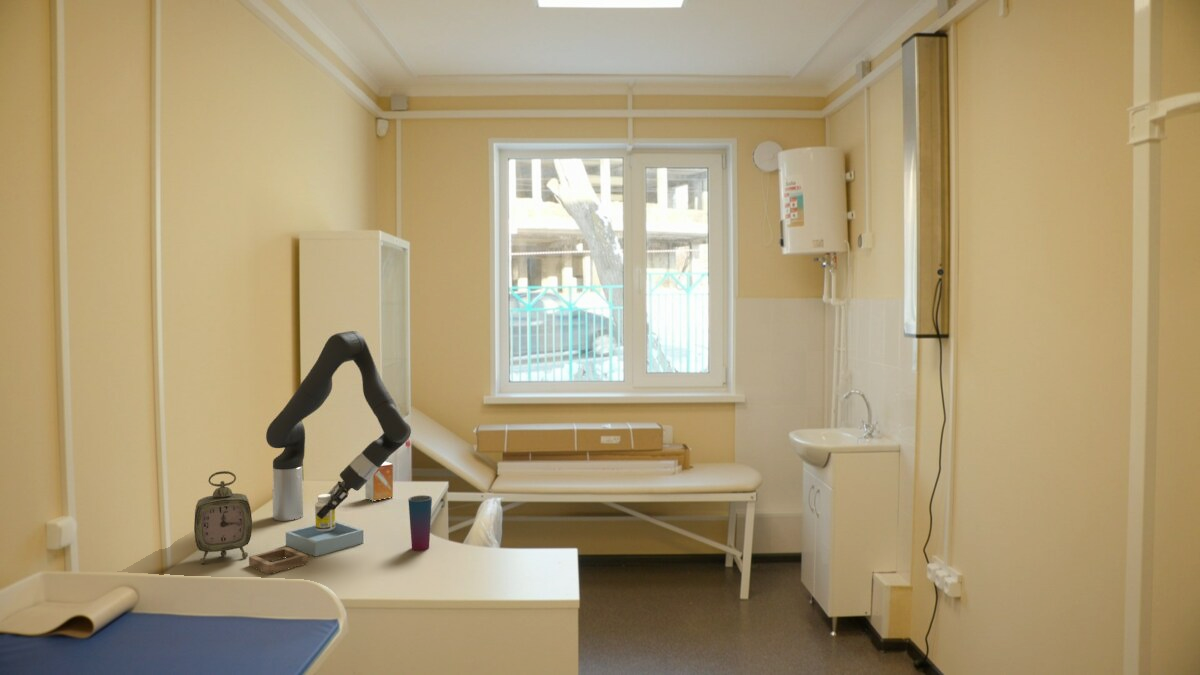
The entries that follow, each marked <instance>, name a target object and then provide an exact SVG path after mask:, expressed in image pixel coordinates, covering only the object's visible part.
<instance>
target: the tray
mask: <svg viewBox="0 0 1200 675" xmlns="http://www.w3.org/2000/svg"><path fill="white" fill-rule="evenodd" d="M361 543H362V544H364V529H361V528H358V527H355V526H353V525H352V526H351V525H349V524H345V523H343V522H340V521H336V520H335V528H334V529H332V530H329V531H318V530H317V529H316V524H314V525H310V526H309V525H308V526H305V527H301V528H297V529H293V530H290V531H285V546H286V545H287V546H286V547H289V546H290V547H289V548H291V547H293V548H292V549H294V548H295V549H294V550H296V549H298V550H297V551H299V550H300V551H299V552H301V551H303V552H302V553H304V552H306V553H305V554H307V553H308V554H307V555H309V554H310V556H312V555H313V556H312V557H314V556H316V557H320V556H323V555H326V554H330V553H333V552H337V551H340V550H344V549H348V548H351V547H355V546H358V544H359V545H361ZM319 555H320V556H319Z"/></svg>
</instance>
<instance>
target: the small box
mask: <svg viewBox="0 0 1200 675" xmlns="http://www.w3.org/2000/svg"><path fill="white" fill-rule="evenodd" d="M364 486H365V487H364V488H365V493H364V496H365V497H366V498H368V499H370V500H373V501H374V500H379V499H384V498H389V497H393V498H394V495H393V494H394V465H393V463H391V462H388V461H385V462H384V463H383V464H382V465H381V466H380V467H379V468H378V469H377V471H376V472H375V473H374V475H373V476H372V477H371V478H370V479H369V480H368V481H367V482H366V483H365V484H364ZM365 497H364V498H365ZM370 500H369V501H370ZM373 501H372V502H373Z"/></svg>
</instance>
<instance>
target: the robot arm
mask: <svg viewBox="0 0 1200 675" xmlns="http://www.w3.org/2000/svg"><path fill="white" fill-rule="evenodd" d="M351 361H353V362H354V363H355V365H356V366H357V368H358V369H359V372H360V376H361V381H362V392H363V396H364V399H365V400H366V403H367V404H368V406H369V408H370V409H371V411H372V413H373V415H374V416H376V419H377V421H378V424H379V425H380V427H381V429H382V431H383V433H382V434H381V435H380V436H379V437H378V438H377V439H375V440H373V441H371V442H370V443H369V445H367V446H366V448H364V449H363V450H362V451H361V453H360V454H359V455H357V456H356V457H355V458H354V459H353V460H352V461H351V462H350V463H349V464H348V465H347V466H346V467H345V468H344V469H343V470H342V471H341V472H340V474H339V477H340V478H341V480H342V481H341V480H339V481H337V483H336V484H335V485H334V486H333V487H332V488H331V489H330V490H329V492H328V493H327V494H331V496H330V497H329V498H330V499H329V501H328V502H327V503H326V504H325V505H324V506H323V508H322V509H321V510H320V511H319V512H318V513H317V516H318V517H319V518H320V519H323V518H324V517H325V516H326V515H327V514H328V512H329V511H330V510H332V509H333V510H334V509H335V510H336V508H337V507H339V505H340V504H342V503H343V501H345V500H346V498H348V495H349V491H350V490H351V489H352V490H354V491H357V492H358V491H360V490H361V488H362V487H363V486H365V483H366V482H367V481H368V480H369V479H370V478H371V477H372V476H373V475H374V473H375V472H376V471H377V469H378V468H379V467H380V466H381V465H382V464H383V463H384V462H387V460H388V459H389V457H390V456H391V455H393V454H394V453H395V452H396V451H397V450H399V449H401V447H402V446H403V445H404V444H405V443H406V442H407V441H408V440H409V438H410V437H411V433H412V429H411V426H410V425H409V423H408V422H406V421H405V420H404V418H403V417H402V415H401V413H400V412H399V410H398V408H397V405H396V402H395V401H394V399H393V398H392V395H391V393H390V392H389V391H388V389H387V388H386V386H385V383H384V382H383V380H382V378H381V376H380V374H379V371H378V368H377V366H376V364H375V361H374V358H373V355H372V353H371V351H370V348H369V346H368V343H367V341H366V339H365V338H364V336H363V335H362V334H361V333H360V332H358V331H354V330H351V331H350V330H349V331H344V332H338V333H335V334H333V335H331V336H329V338H328V340H326V342H325V344H324V346H323V348H322V350H321V352H320V354H319V357H318V358H317V359H316V362H315V363H314V364H313V366H312V367H311V369H310V370H309V372H308V373H307V375H306V376H305V378H304V379H303V380H302V382H301V383H300V384H299V386H298V388H297V389H296V391H295V393H294V394H293V395H292V397H291V398H290V399H289V401H288V402H287V404H286V405H285V406H284V408H283V409H282V410H281V411H280V413H279V414H278V415H277V416H276V417H275V418H274V419H273V420H272V421H271V422H270V424H269V426H268V427H267V430H266V434H265V439H266V442H267V444H268V445H269V447H271V448H273V449H283V451H282V452H281V453H280V454H279V455H277V456H276V457H275V458H274V459H273V461H272V483H273V484H272V488H273V489H272V516H273V519H274V520H275V521H282V522H283V521H284V522H285V521H294V519H295V520H298V519H301V518H302V517H303V516H304V489H303V484H304V483H303V482H304V481H303V476H304V475H303V462H304V459H305V448H306V446H305V445H306V431H305V429H306V428H305V426H304V423H303V422H302V421H303V420H305V419H306V418H307V417H308V416H309V417H310V415H311V414H313V413H315V412H316V411H317V410H319V408H320V407H322V406H323V404H324V403H325V402H326V400H327V399H328V397H329V396H330V394H331V393H332V389H333V376H334V374H335V373H336V372H337V370H338V369H339V368H340V366H341V365H343V364H344V363H346V362H351ZM333 501H334V502H335V504H332V502H333ZM300 517H301V518H300Z"/></svg>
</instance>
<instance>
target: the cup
mask: <svg viewBox="0 0 1200 675" xmlns="http://www.w3.org/2000/svg"><path fill="white" fill-rule="evenodd" d="M407 500H408V512H409V513H408V514H409V524H410V525H409V528H410V539H411V540H410V541H411V543H410V544H411V550H412V551H416V552H417V551H418V552H420V551H426V550H428V549H429V548H430V539H431V538H430V537H431V521H432V505H433V502H432V500H433V497H432V496H430V495H426V494H425V495H424V494H423V495H421V494H420V495H419V494H418V495H413V496H410V497H409V498H408V499H407Z"/></svg>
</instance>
